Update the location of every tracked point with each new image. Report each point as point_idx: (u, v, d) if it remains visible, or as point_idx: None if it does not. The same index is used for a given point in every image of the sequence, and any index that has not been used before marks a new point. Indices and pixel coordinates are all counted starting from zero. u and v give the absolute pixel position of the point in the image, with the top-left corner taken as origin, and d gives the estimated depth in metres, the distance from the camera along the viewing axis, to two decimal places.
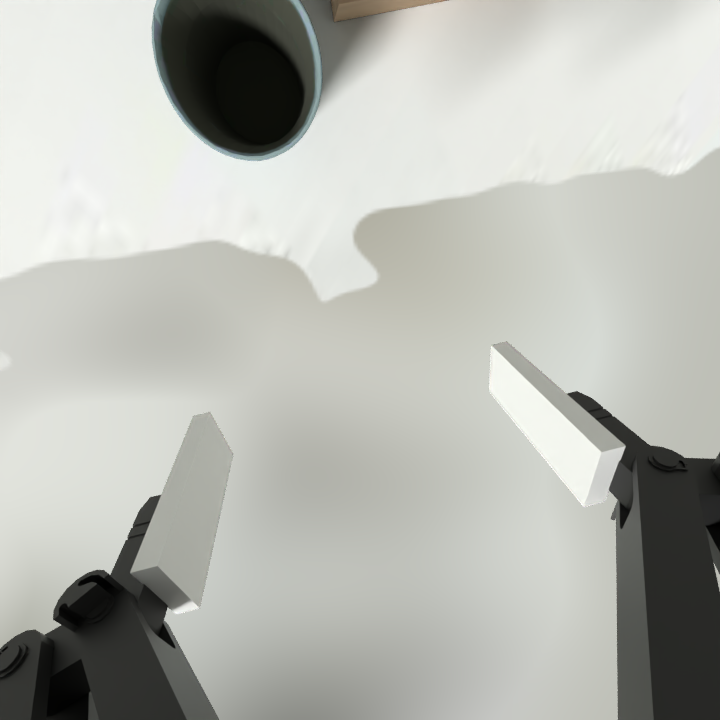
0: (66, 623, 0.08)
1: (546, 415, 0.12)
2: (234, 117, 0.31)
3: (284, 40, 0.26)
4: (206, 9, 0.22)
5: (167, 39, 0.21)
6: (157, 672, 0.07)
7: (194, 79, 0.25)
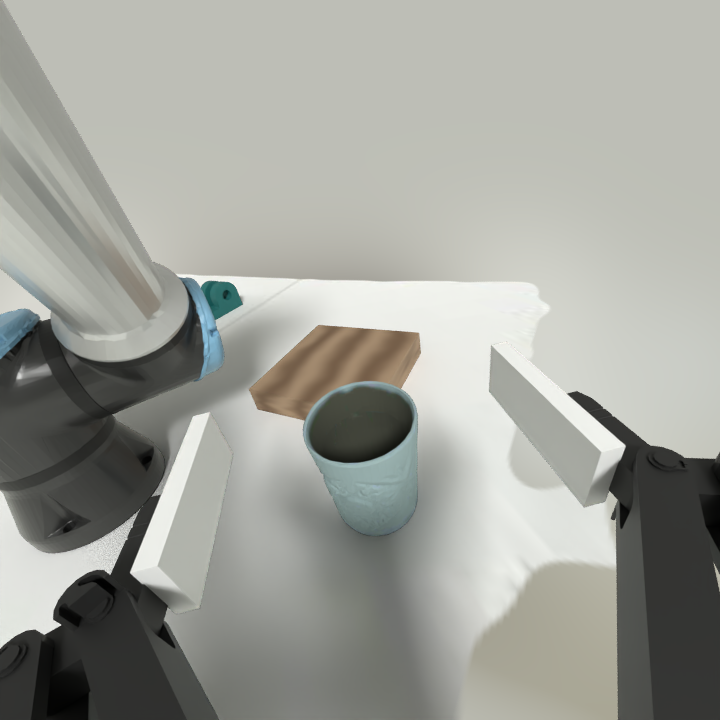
0: (66, 623, 0.08)
1: (546, 415, 0.12)
2: None
3: (363, 439, 0.36)
4: (323, 447, 0.32)
5: None
6: (157, 672, 0.07)
7: None
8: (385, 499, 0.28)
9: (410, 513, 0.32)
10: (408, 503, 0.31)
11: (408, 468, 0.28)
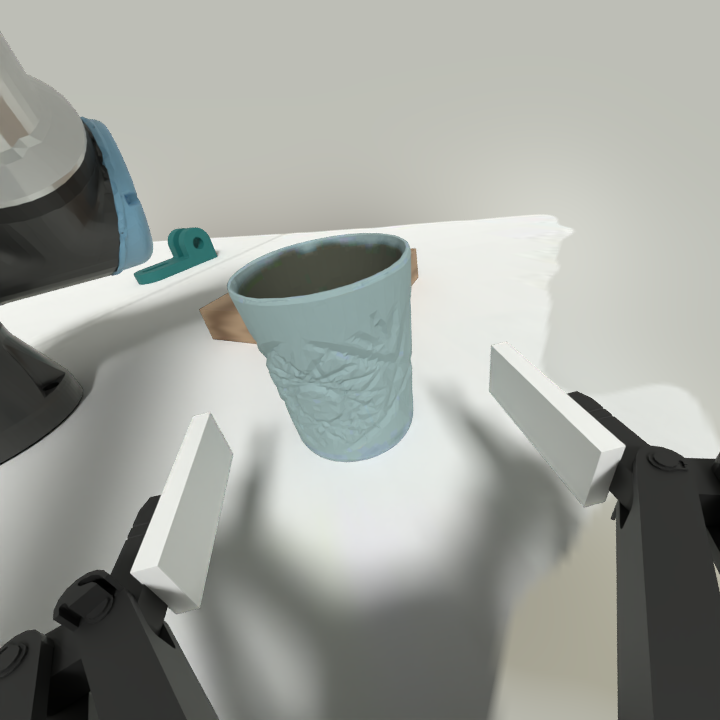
0: (66, 623, 0.08)
1: (546, 415, 0.12)
2: None
3: None
4: None
5: None
6: (157, 672, 0.07)
7: None
8: (359, 384, 0.17)
9: (402, 428, 0.22)
10: (398, 406, 0.20)
11: (396, 334, 0.17)
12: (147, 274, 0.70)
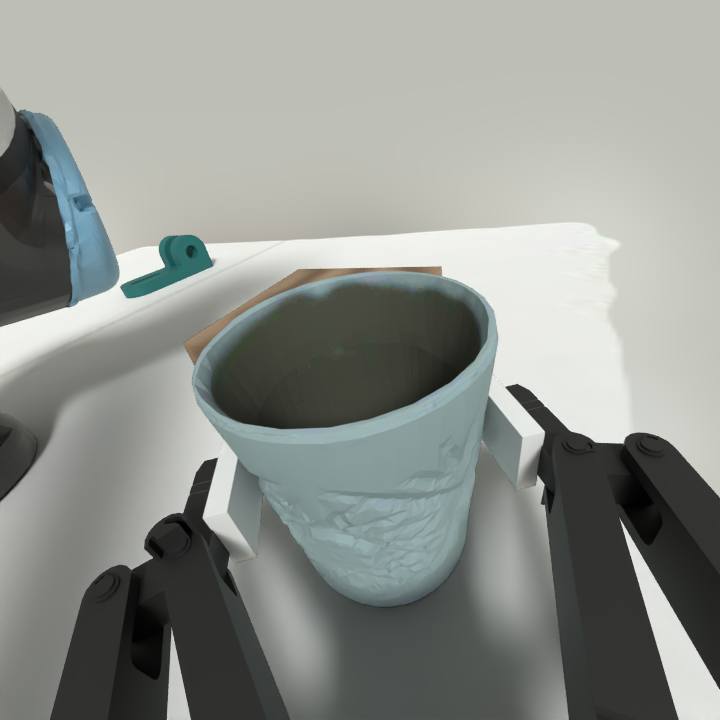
0: (153, 553, 0.09)
1: (486, 406, 0.13)
2: None
3: (357, 404, 0.19)
4: (265, 410, 0.14)
5: (226, 413, 0.10)
6: (224, 615, 0.08)
7: None
8: (409, 534, 0.11)
9: (457, 557, 0.15)
10: (457, 536, 0.13)
11: (470, 453, 0.11)
12: (135, 287, 0.63)
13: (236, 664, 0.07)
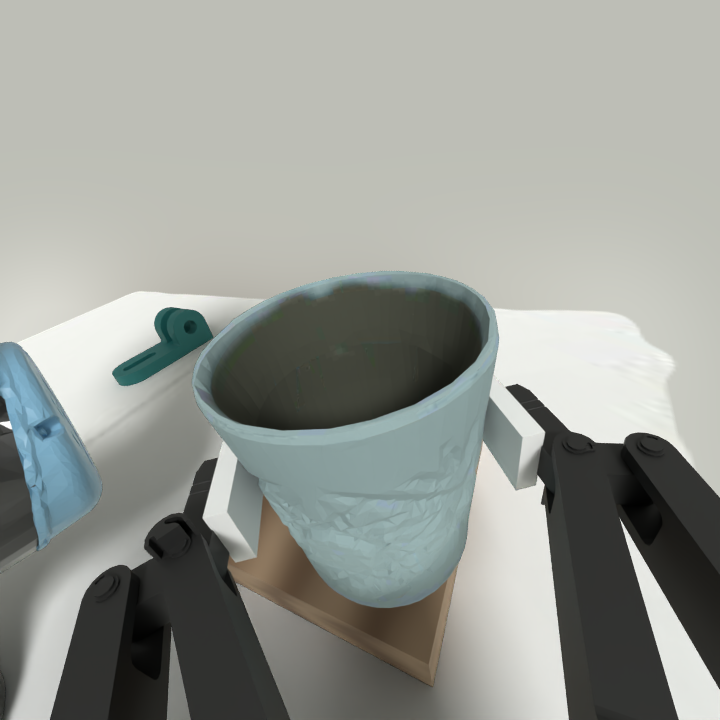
0: (153, 553, 0.09)
1: None
2: None
3: (357, 404, 0.19)
4: (265, 410, 0.14)
5: (226, 414, 0.10)
6: (224, 614, 0.08)
7: None
8: (409, 535, 0.11)
9: (458, 557, 0.15)
10: (458, 537, 0.13)
11: (471, 454, 0.11)
12: (128, 375, 0.58)
13: (236, 663, 0.07)
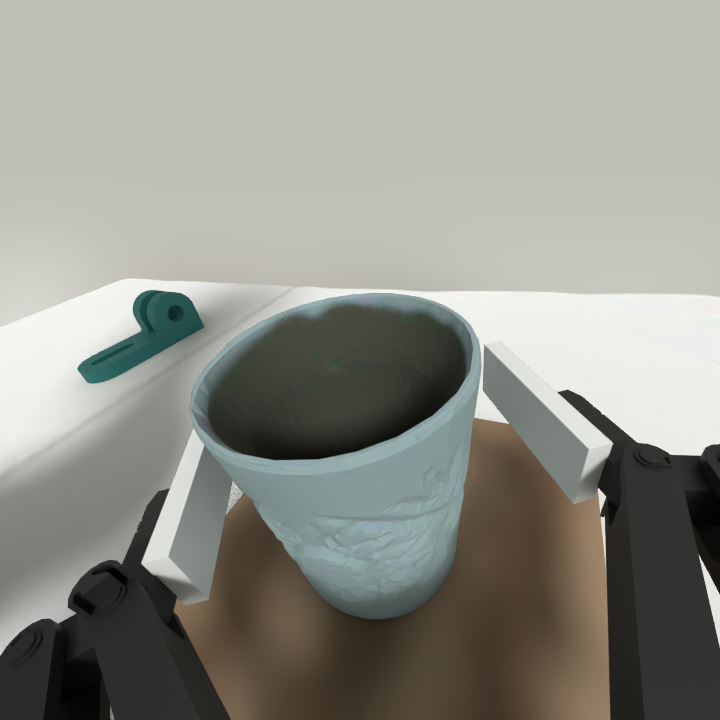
0: (80, 611, 0.08)
1: (537, 413, 0.12)
2: None
3: (351, 419, 0.19)
4: (260, 428, 0.15)
5: (222, 438, 0.11)
6: (167, 662, 0.07)
7: None
8: (397, 553, 0.11)
9: (447, 570, 0.15)
10: (446, 552, 0.14)
11: (456, 476, 0.11)
12: (96, 370, 0.47)
13: (183, 713, 0.07)
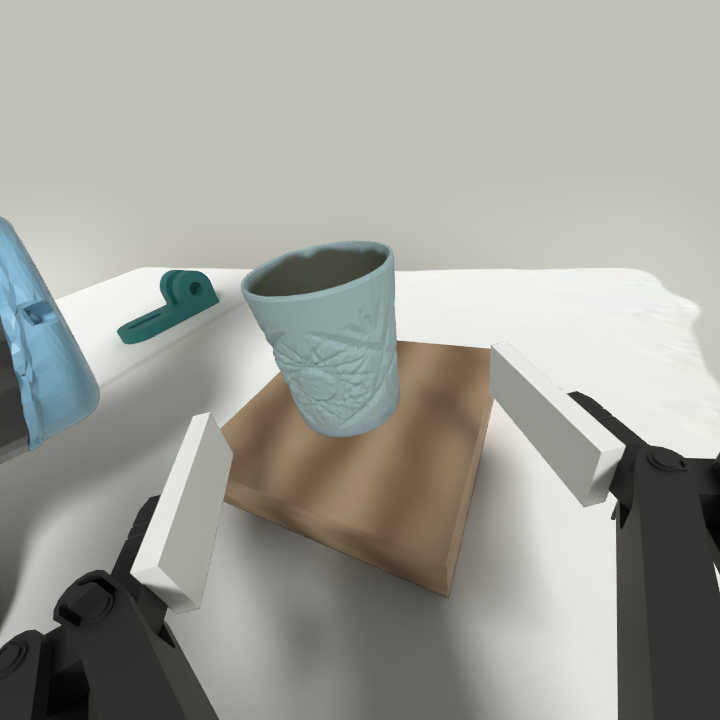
0: (66, 623, 0.08)
1: (546, 415, 0.12)
2: None
3: None
4: None
5: None
6: (157, 672, 0.07)
7: None
8: (350, 368, 0.21)
9: (389, 409, 0.25)
10: (385, 389, 0.24)
11: (381, 326, 0.21)
12: (133, 333, 0.57)
13: None
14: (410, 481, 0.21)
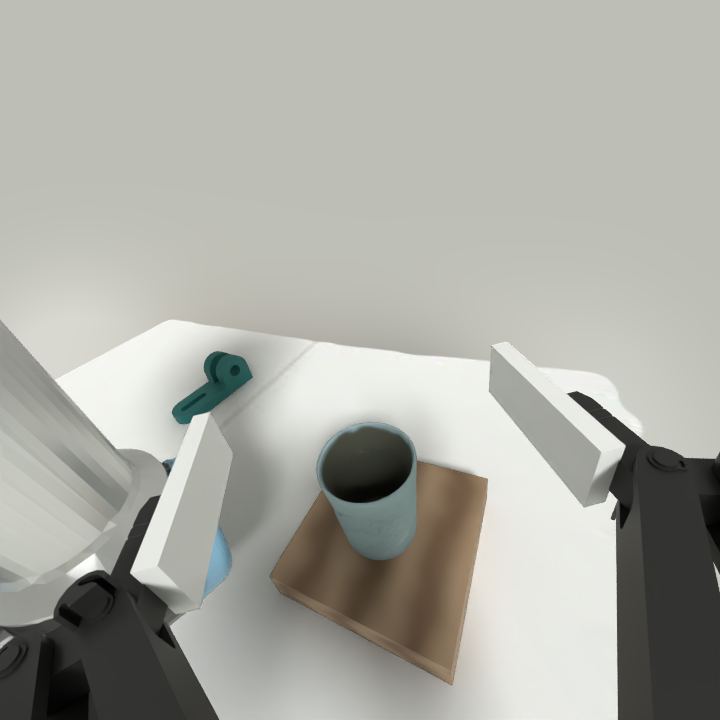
0: (66, 623, 0.08)
1: (546, 415, 0.12)
2: None
3: (368, 471, 0.40)
4: (333, 482, 0.36)
5: (330, 492, 0.32)
6: (157, 672, 0.07)
7: None
8: (388, 530, 0.32)
9: (410, 540, 0.37)
10: (408, 531, 0.35)
11: (408, 503, 0.32)
12: (186, 416, 0.69)
13: None
14: (427, 604, 0.32)
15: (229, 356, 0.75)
